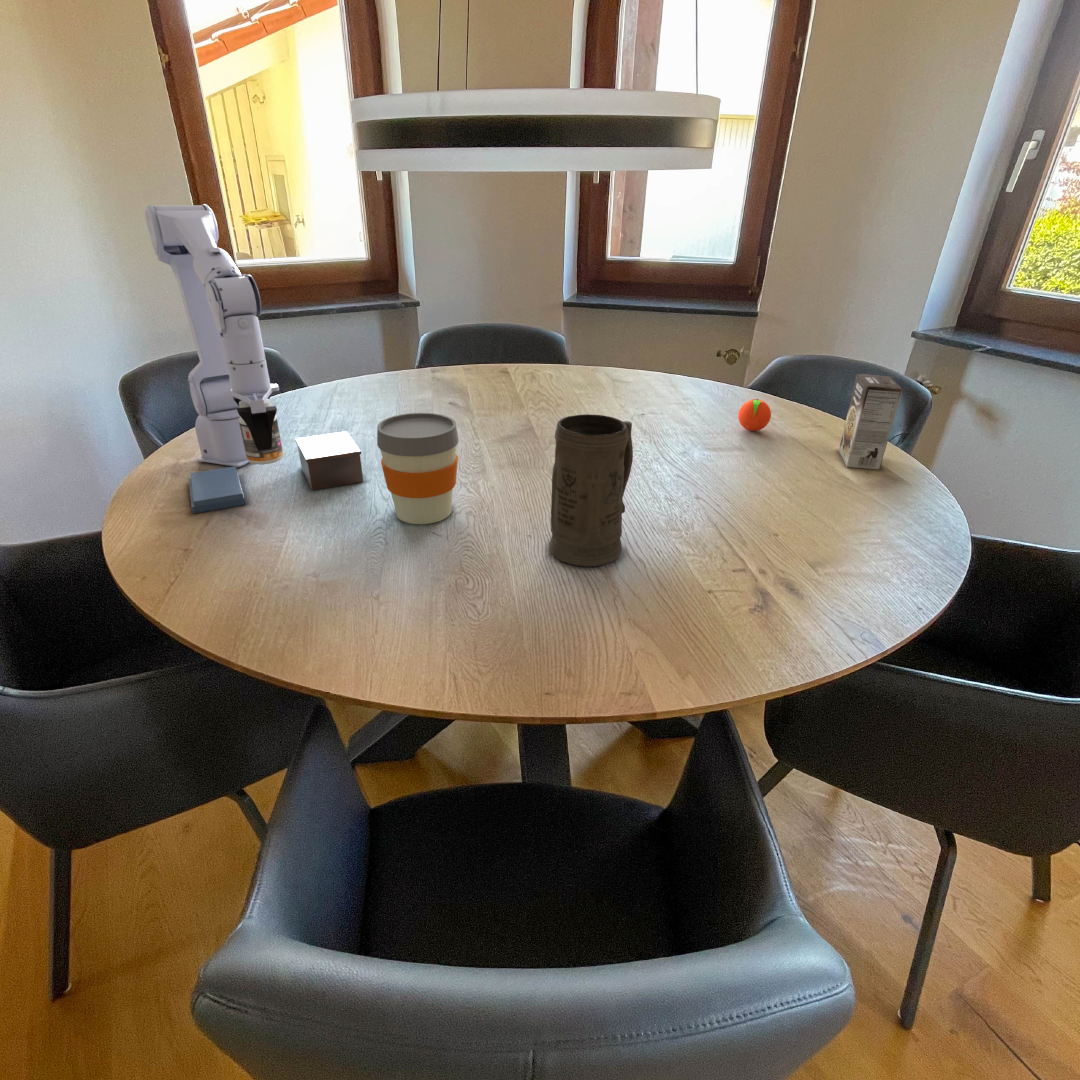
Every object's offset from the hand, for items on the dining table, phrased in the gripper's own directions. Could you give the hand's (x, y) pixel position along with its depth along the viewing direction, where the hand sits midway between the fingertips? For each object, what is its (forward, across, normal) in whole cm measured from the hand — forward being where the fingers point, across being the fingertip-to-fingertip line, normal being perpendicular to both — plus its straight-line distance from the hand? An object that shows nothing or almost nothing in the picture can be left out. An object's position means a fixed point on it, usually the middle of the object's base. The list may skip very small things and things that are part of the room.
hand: (262, 443), depth 108 cm
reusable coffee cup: (+10, -17, -22) cm, 29 cm away
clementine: (+10, -9, -100) cm, 101 cm away
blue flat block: (+10, +5, +8) cm, 14 cm away
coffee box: (+10, -31, -107) cm, 112 cm away
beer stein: (+10, -38, -41) cm, 57 cm away
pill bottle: (+3, 0, 0) cm, 3 cm away
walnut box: (+10, +5, -11) cm, 16 cm away
